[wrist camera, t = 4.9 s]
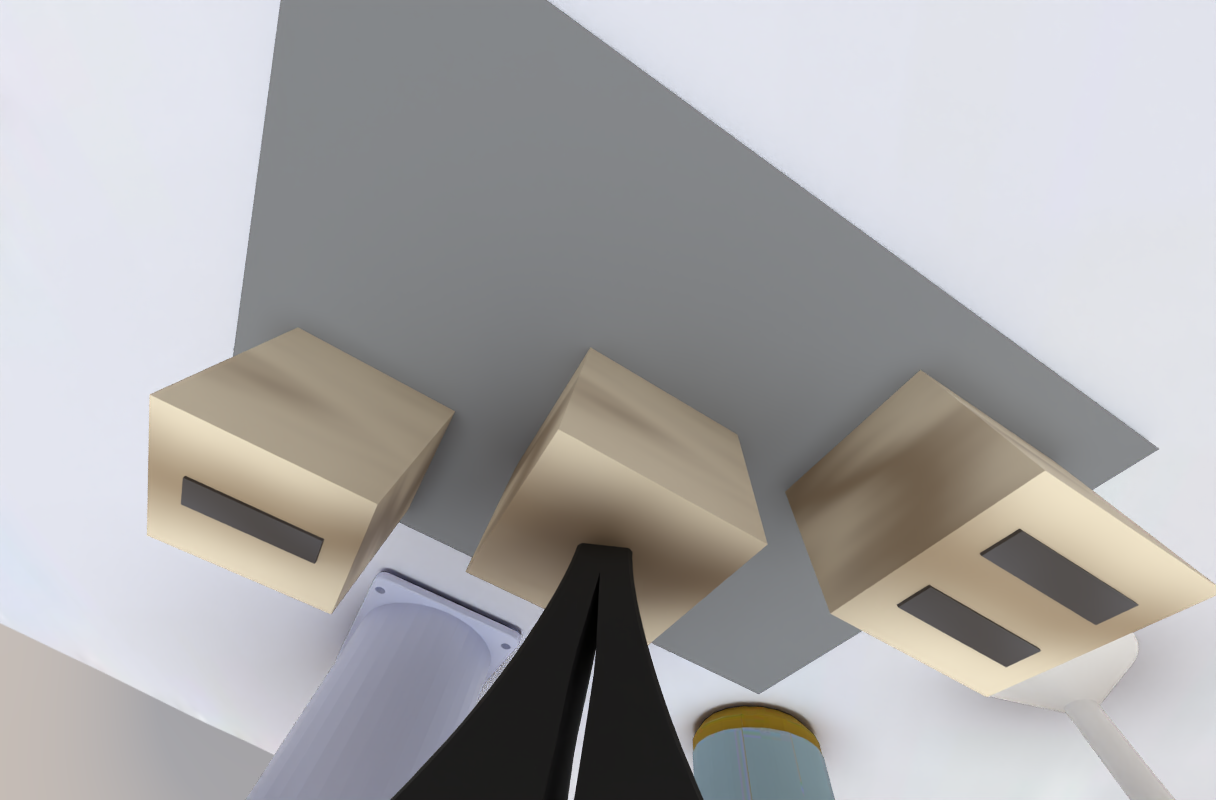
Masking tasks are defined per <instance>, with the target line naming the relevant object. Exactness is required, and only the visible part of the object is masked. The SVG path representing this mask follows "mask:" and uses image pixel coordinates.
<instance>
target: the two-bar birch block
mask: <svg viewBox="0 0 1216 800" xmlns="http://www.w3.org/2000/svg"><path fill="white" fill-rule="evenodd" d="M785 493H786V496H787V498H788V501H789V504H790V506H791V509H792V512H793V515H794V517H795V520H796V523H797V525H798V528H799V531H800V533H801V536H802V539H803V541H804V544H805V547H806V550H807V552H808V555H809V558H810V560H811V563H812V566H813V568H814V571H815V574H816V577H817V579H818V582H819V585H820V587H821V590H822V593H823V595H824V598H825V601H826V604H827V606H828V609H829V612H830V614H832V615H834V616H836V617H838V618H839V619H841V620H843V621H845V622H847V623H849V624H851V625H853V626H854V627H856V628H858V629H860V630H862V631H864V632H866V633H867V634H869V635H871V636H873V637H875V638H877V639H879V640H881V641H882V642H884V643H886V644H888V645H890V646H892V647H894V648H896V649H897V650H899V651H901V652H903V653H905V654H907V655H909V656H911V657H912V658H914V659H916V660H918V661H920V662H922V663H924V664H926V665H927V666H929V667H931V668H933V669H935V670H937V671H939V672H941V673H942V674H944V675H946V676H948V677H950V678H952V679H954V680H955V681H957V682H959V683H961V684H963V685H965V686H967V687H969V688H970V689H972V690H974V691H976V692H978V693H980V694H982V695H984V696H985V697H989V696H991V695H993V694H996V693H998V692H1000V691H1002V690H1005V689H1007V688H1009V687H1011V686H1013V685H1016V684H1018V683H1020V682H1022V681H1025V680H1027V679H1029V678H1031V677H1034V676H1036V675H1038V674H1040V673H1043V672H1045V671H1047V670H1049V669H1052V668H1054V667H1056V666H1058V665H1061V664H1063V663H1065V662H1067V661H1070V660H1072V659H1074V658H1076V657H1079V656H1081V655H1083V654H1085V653H1088V652H1090V651H1092V650H1094V649H1097V648H1099V647H1101V646H1103V645H1106V644H1108V643H1110V642H1112V641H1115V640H1117V639H1119V638H1121V637H1124V636H1126V635H1128V634H1130V633H1133V632H1135V631H1137V630H1139V629H1142V628H1144V627H1146V626H1148V625H1151V624H1153V623H1155V622H1157V621H1160V620H1162V619H1164V618H1166V617H1169V616H1171V615H1173V614H1175V613H1178V612H1180V611H1182V610H1184V609H1187V608H1189V607H1191V606H1193V605H1196V604H1198V603H1200V602H1202V601H1205V600H1207V599H1209V598H1211V597H1214V596H1216V585H1215V584H1214V583H1213V582H1211V581H1210V580H1209V579H1208V578H1206V577H1205V576H1204V575H1202V574H1201V573H1200V572H1198V571H1197V570H1196V569H1194V568H1193V567H1192V566H1191V565H1189V564H1188V563H1187V562H1185V561H1184V560H1183V559H1181V558H1180V557H1179V556H1177V555H1176V554H1175V553H1174V552H1172V551H1171V550H1170V549H1168V548H1167V547H1166V546H1164V545H1163V544H1162V543H1160V542H1159V541H1158V540H1157V539H1155V538H1154V537H1153V536H1151V535H1150V534H1149V533H1147V532H1146V531H1145V530H1143V529H1142V528H1141V527H1140V526H1138V525H1137V524H1136V523H1134V522H1133V521H1132V520H1130V519H1129V518H1128V517H1126V516H1125V515H1124V514H1123V513H1121V512H1120V511H1119V510H1117V509H1116V508H1115V507H1113V506H1112V505H1111V504H1109V503H1108V502H1107V501H1106V500H1104V499H1103V498H1102V497H1100V496H1099V495H1098V494H1096V493H1095V492H1094V491H1092V490H1091V489H1090V488H1089V487H1087V486H1086V485H1085V484H1083V483H1082V482H1081V481H1079V480H1078V479H1077V478H1075V477H1074V476H1073V475H1072V474H1070V473H1069V472H1068V471H1066V470H1065V469H1064V468H1062V467H1061V466H1060V465H1058V464H1057V463H1056V462H1055V461H1053V460H1052V459H1050V458H1049V457H1047V456H1046V455H1044V454H1043V453H1041V452H1040V451H1039V450H1037V449H1036V448H1034V447H1033V446H1031V445H1030V444H1028V443H1027V442H1025V441H1024V440H1022V439H1021V438H1019V437H1018V436H1017V435H1015V434H1014V433H1012V432H1011V431H1009V430H1008V429H1006V428H1005V427H1003V426H1002V425H1000V424H999V423H998V422H996V421H995V420H993V419H992V418H990V417H989V416H987V415H986V414H984V413H983V412H981V411H980V410H979V409H977V408H976V407H974V406H973V405H971V404H970V403H968V402H967V401H965V400H964V399H962V398H961V397H959V396H958V395H957V394H955V393H954V392H952V391H951V390H949V389H948V388H946V387H945V386H943V385H942V384H940V383H939V382H938V381H936V380H935V379H933V378H932V377H930V376H929V375H927V374H926V373H924V372H923V371H921V370H920V371H919V372H918V373H916V374H915V375H914V376H913V377H912V378H911V379H910V380H909V381H908V382H906V383H905V384H904V385H903V386H902V387H901V388H900V389H899V390H898V391H896V392H895V393H894V394H893V395H892V396H891V397H890V398H889V399H888V400H886V401H885V402H884V403H883V404H882V405H881V406H880V407H879V408H878V409H876V410H875V411H874V412H873V413H872V414H871V415H870V416H869V417H868V418H866V419H865V420H864V421H863V422H862V423H861V424H860V425H859V426H858V427H856V428H855V429H854V430H853V431H852V432H851V433H850V434H849V435H848V436H846V437H845V438H844V439H843V440H842V441H841V442H840V443H839V444H838V445H836V446H835V447H834V448H833V449H832V450H831V451H830V452H829V453H828V454H826V455H825V456H824V457H823V458H822V459H821V460H820V461H819V462H818V463H816V464H815V465H814V466H813V467H812V468H811V469H810V470H809V471H808V472H806V473H805V474H804V475H803V476H802V477H801V478H800V479H799V480H798V481H796V482H795V483H794V484H793V485H792V486H791V487H790V488H789V489H788V490H786V491H785Z"/></svg>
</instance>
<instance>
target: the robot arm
mask: <svg viewBox="0 0 1216 800" xmlns="http://www.w3.org/2000/svg"><path fill="white" fill-rule="evenodd" d="M632 555H633V552H632V551H631V550H630V549H629V548H625V547H616V546H606V545H597V544H588V543H581V544H579V545H577V548H576V551H575V553H574V556H573V558H572V560H571V562H570V564H569V566H568V569H567V571H566V573H565V574H564V576H563V578H562V580H561V582H560V584H559V586H558V588H557V589H556V591H555V593H554V595H553V596H552V598H551V600H550V601H549V603H548V605H547V606H546V608H545V610H544V611H543V613H542V615H541V616H540V618H539V620H538V621H537V623H536V624H535V626H534V627H533V629H532V630H531V632H530V633H529V635H528V636H527V638H526V639H525V641H524V642H523V644H522V645H521V647H520V648H519V650H518V651H517V653H516V654H515V655H514V657H513V658H512V660H511V661H510V662H509V664H508V665H507V666H506V668H505V669H504V671H503V672H502V673H501V675H500V676H499V677H498V678H497V680H496V681H495V682H494V684H493V685H492V686H491V687H490V689H489V690H488V691H487V693H486V694H485V695H484V696H483V698H482V699H481V700H480V701H479V702H478V704H477V701H478V698H479V695H480V693H481V690H482V687H483V684H484V683H485V682H486V681H487V680H488V679H489V677H490V676H491V675H492V674H493V673H494V672H495V671H496V670H497V668H498V667H499V666H500V665H501V664H502V663H503V662H504V661H505V659H506V658H507V657H508V656H509V655H510V654H511V653H512V652H513V650H514V649H515V648H516V647H517V646H518V645H519V642H520V639H521V636H520V634H519V633H518V632H517V631H515V630H513V629H511V628H509V627H506V626H504V625H502V624H500V623H498V622H495V621H493V620H491V619H489V618H487V617H484V616H482V615H480V614H478V613H476V612H473V611H471V610H469V609H467V608H465V607H462V606H460V605H458V604H456V603H454V602H451V601H449V600H447V599H445V598H443V597H441V596H438V595H436V594H434V593H432V592H430V591H427V590H425V589H423V588H421V587H419V586H416V585H414V584H412V583H410V582H408V581H405V580H403V579H401V578H399V577H397V576H394V575H392V574H390V573H387V572H381V573H379V574H378V575H377V576H376V577H375V579H374V580H373V583H372V585H371V587H370V589H369V591H368V593H367V595H366V597H365V599H364V601H363V603H362V606H361V608H360V610H359V612H358V614H357V616H356V618H355V620H354V622H353V624H352V626H351V629H350V631H349V633H348V635H347V637H346V639H345V641H344V643H343V645H342V647H341V649H340V652H339V654H338V656H337V660H336V662H335V663H334V665H333V666H332V668H331V669H330V671H329V672H328V674H327V675H326V677H325V678H324V680H323V682H322V683H321V685H320V686H319V688H318V689H317V691H316V692H315V694H314V695H313V697H312V698H311V700H310V701H309V703H308V704H307V706H306V707H305V709H304V711H303V712H302V714H301V715H300V717H299V718H298V720H297V721H296V723H295V724H294V726H293V727H292V729H291V730H290V732H289V733H288V735H287V737H286V738H285V740H284V741H283V743H282V744H281V746H280V747H279V749H278V750H277V752H276V753H275V755H274V756H273V758H272V760H271V761H270V762H269V764H268V766H267V767H266V769H265V770H264V772H263V773H262V775H261V776H260V778H259V779H258V781H257V782H256V784H255V785H254V787H253V788H252V790H251V791H250V793H249V795H248V796H247V798H246V799H245V800H568V793H569V786H570V778H571V771H572V764H573V757H574V752H575V746H576V741H577V735H578V730H579V726H580V721H581V716H582V712H583V707H584V703H585V698H586V693H587V689H588V684H589V679H590V675H591V670H592V665H593V661H594V656H595V651H596V657H595V667H594V676H593V683H592V689H591V696H590V702H589V709H588V716H587V722H586V728H585V735H584V741H583V748H582V754H581V760H580V767H579V773H578V779H577V785H576V791H575V797H574V800H704V799H703V797H702V795H701V792H700V790H699V787H698V785H697V783H696V780H695V778H694V776H693V773H692V771H691V768H690V766H689V764H688V761H687V759H686V757H685V754H684V752H683V749H682V747H681V744H680V741H679V739H678V736H677V733H676V731H675V728H674V725H673V723H672V720H671V717H670V714H669V711H668V709H667V706H666V703H665V700H664V697H663V694H662V691H661V688H660V685H659V682H658V679H657V676H656V672H655V669H654V666H653V662H652V659H651V655H650V652H649V648H648V644H647V641H646V637H645V633H644V629H643V624H642V620H641V616H640V611H639V607H638V602H637V596H636V590H635V584H634V576H633V561H632ZM476 704H477V705H476Z"/></svg>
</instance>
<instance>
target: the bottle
mask: <svg viewBox="0 0 1216 800" xmlns="http://www.w3.org/2000/svg"><path fill="white" fill-rule="evenodd" d="M693 766H694V778H695V780H696V783H697V785H698V787H699V790H700V792H701V795H702V797H703V799H704V800H835V798H834V794H833V791H832V787H831V783H830V779H829V776H828V772H827V768H826V765H825V761H824V757H823V755H822V752H821V749H820V745H819V742H818V741H817V739H816V737H815V736H814V735H813V733H811V732H810V731H809V730H808V729H807V728H806V727H805V726H804V725H803V724H802V723H801V722H799V721H798V720H797V719H795V718H794V717H793V716H791V715H789V714H786V713H784V712H781V711H779V710H775V709H769V708H765V707H750V706H741V707H735V708H727V709H724V710H722V711H719V712H716V713H714V714H712V715H711V716H710V717H708V718H707V719H705V720H704V722H703V723H702V725H701V726H700V727H699V729H698V730H697V732H696V734H695V736H694V738H693Z"/></svg>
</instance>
